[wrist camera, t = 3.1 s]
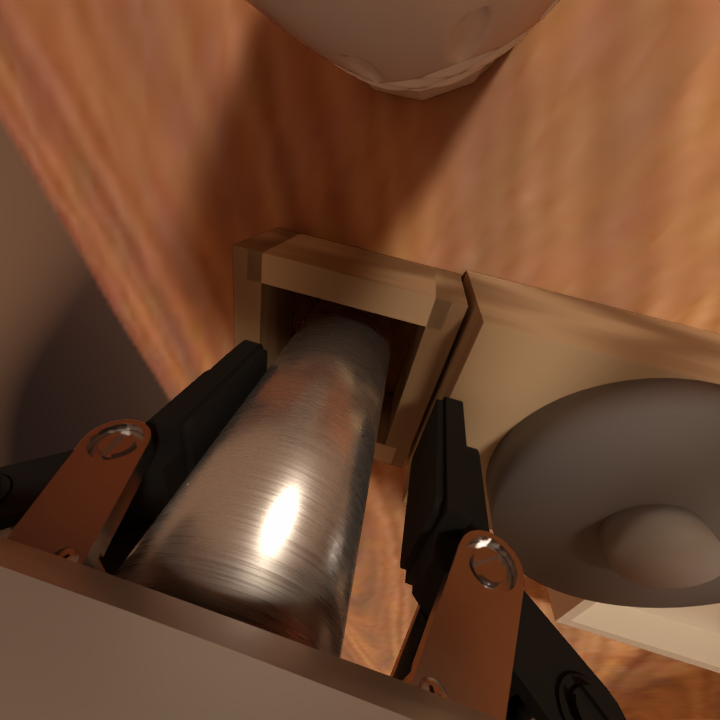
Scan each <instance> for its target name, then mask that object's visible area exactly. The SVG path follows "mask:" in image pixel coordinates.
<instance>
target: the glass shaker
mask: <svg viewBox="0 0 720 720" xmlns="http://www.w3.org/2000/svg"><path fill="white" fill-rule="evenodd" d="M393 335H394V332H393V325H392V322H391V319H390V317H387V316H384V315H380V314H376V313H372V312H369V311H365V310H361V309H357V308H354V307H350V306H346V305H342V304H339V303H335V302H331V301H327V300H324V299H322V300H320V301H319V302H318V303H317V304H316V306H315V307H314V308H313V310H312V311H311V312H310V314H309V315H308V316H307V318H306V319H305V320H304V322H303V323H302V324H301V326H300V327H299V329H298V330H297V331H296V333H295V334H294V335H293V337H292V338H291V339H290V341H289V342H288V343H287V345H286V346H285V347H284V349H283V350H282V351H281V353H280V354H279V355H278V357H277V358H276V359H275V361H274V362H273V363H272V365H271V366H270V367H269V369H268V370H267V371H266V373H265V374H264V375H263V377H262V378H261V379H260V381H259V382H258V383H257V385H256V386H255V387H254V389H253V390H252V391H251V393H250V394H249V395H248V397H247V398H246V399H245V401H244V402H243V403H242V405H241V406H240V407H239V409H238V410H237V411H236V413H235V414H234V415H233V417H232V418H231V419H230V421H229V422H228V423H227V425H226V426H225V427H224V429H223V430H222V431H221V433H220V434H219V435H218V437H217V438H216V440H215V441H214V442H213V444H212V445H211V446H210V448H209V449H208V450H207V452H206V453H205V454H204V456H203V457H202V458H201V460H200V461H199V462H198V464H197V465H196V466H195V468H194V469H193V470H192V472H191V473H190V474H189V476H188V477H187V478H186V480H185V481H184V482H183V484H182V485H181V486H180V488H179V489H178V490H177V492H176V493H175V494H174V496H173V497H172V498H171V500H170V501H169V502H168V504H167V505H166V506H165V508H164V509H163V510H162V512H161V513H160V514H159V516H158V517H157V518H156V520H155V521H154V522H153V524H152V525H151V526H150V528H149V529H148V530H147V532H146V533H145V534H144V536H143V537H142V538H141V540H140V541H139V542H138V544H137V545H136V546H135V548H134V549H133V550H132V552H131V553H130V555H129V556H128V557H127V559H126V560H125V561H124V563H123V564H122V565H121V567H120V568H119V569H118V571H117V572H116V573H115V575H114V576H116V577H119V578H122V579H124V580H127V581H130V582H133V583H136V584H138V585H141V586H144V587H147V588H150V589H152V590H155V591H158V592H161V593H164V594H166V595H169V596H172V597H175V598H177V599H180V600H183V601H186V602H188V603H191V604H194V605H197V606H199V607H202V608H205V609H208V610H210V611H213V612H216V613H219V614H221V615H224V616H227V617H230V618H232V619H235V620H238V621H241V622H243V623H246V624H249V625H252V626H254V627H257V628H260V629H263V630H265V631H268V632H271V633H274V634H276V635H279V636H282V637H285V638H287V639H290V640H293V641H296V642H298V643H301V644H304V645H306V646H309V647H312V648H315V649H317V650H320V651H323V652H325V653H328V654H331V655H333V656H336V657H339V658H340V657H341V651H342V645H343V639H344V633H345V627H346V621H347V615H348V609H349V603H350V597H351V591H352V585H353V579H354V573H355V567H356V561H357V555H358V549H359V543H360V537H361V531H362V525H363V518H364V512H365V506H366V500H367V494H368V488H369V482H370V476H371V470H372V464H373V458H374V452H375V446H376V440H377V434H378V428H379V422H380V416H381V410H382V404H383V398H384V392H385V385H386V379H387V373H388V367H389V361H390V355H391V349H392V343H393Z"/></svg>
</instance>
